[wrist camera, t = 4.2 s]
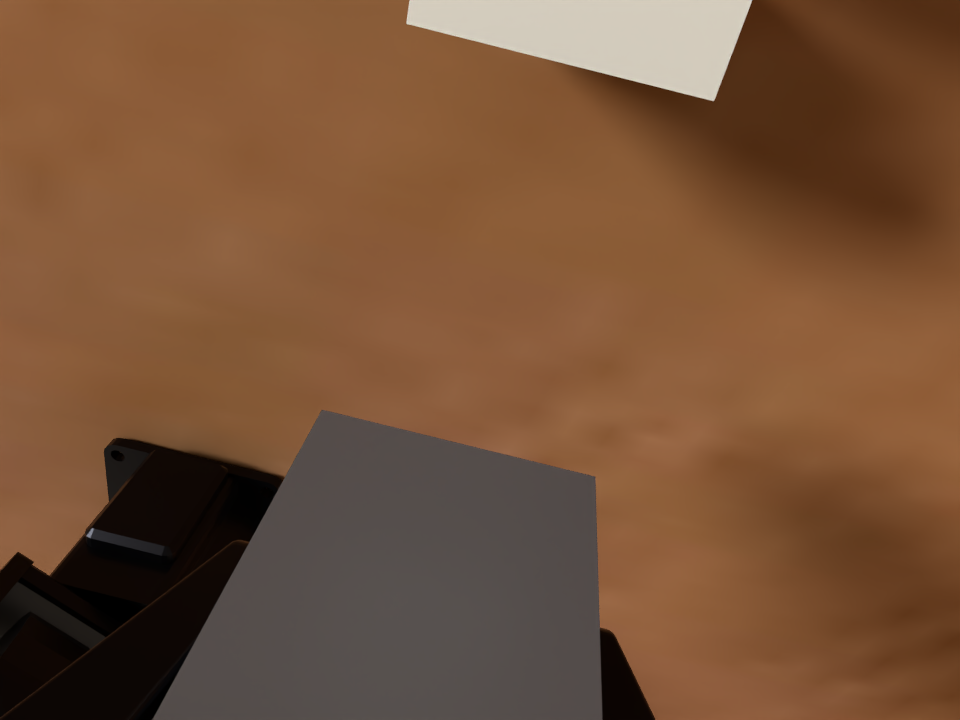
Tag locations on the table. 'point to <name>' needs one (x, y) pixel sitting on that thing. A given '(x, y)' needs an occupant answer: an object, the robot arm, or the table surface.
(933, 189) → the table surface
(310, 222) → the table surface
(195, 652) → the domino
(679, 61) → the domino
